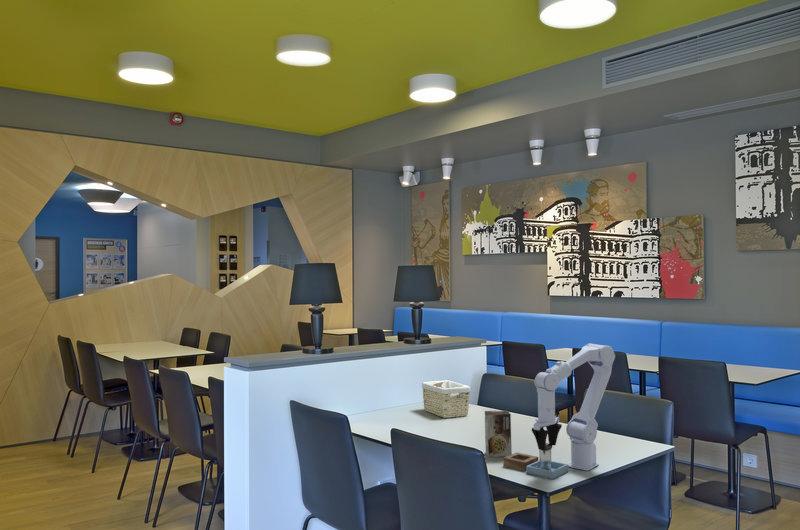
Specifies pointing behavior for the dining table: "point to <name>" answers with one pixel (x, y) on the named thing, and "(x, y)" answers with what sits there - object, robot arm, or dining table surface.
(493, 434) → the coffee box
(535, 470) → the slate-blue tray
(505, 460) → the wooden square frame
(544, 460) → the glass jar
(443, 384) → the storage basket
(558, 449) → the dining table surface
